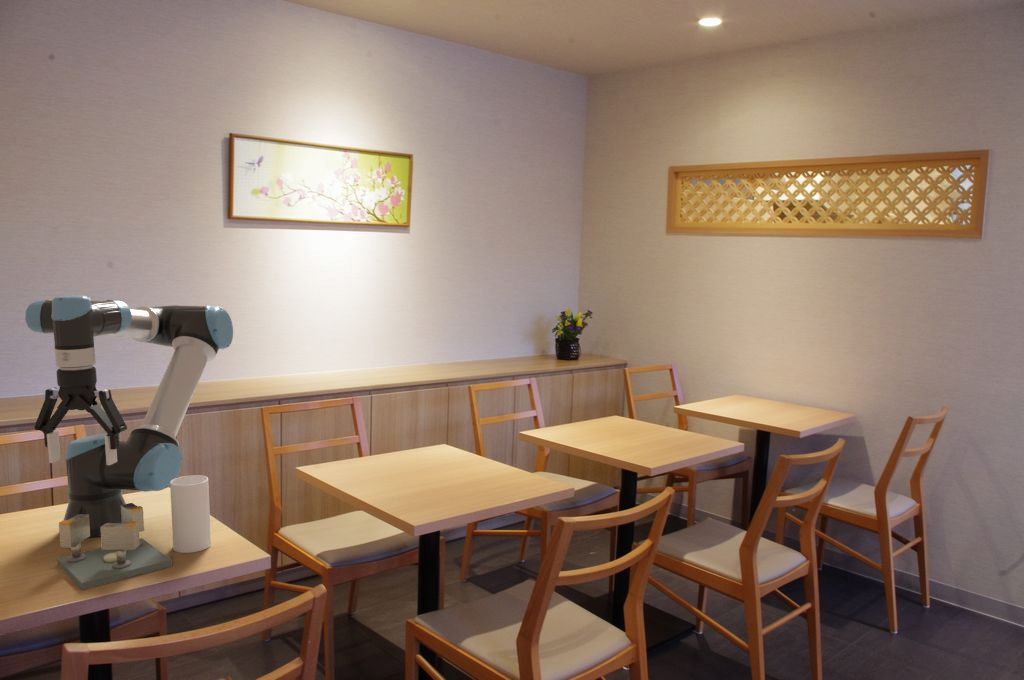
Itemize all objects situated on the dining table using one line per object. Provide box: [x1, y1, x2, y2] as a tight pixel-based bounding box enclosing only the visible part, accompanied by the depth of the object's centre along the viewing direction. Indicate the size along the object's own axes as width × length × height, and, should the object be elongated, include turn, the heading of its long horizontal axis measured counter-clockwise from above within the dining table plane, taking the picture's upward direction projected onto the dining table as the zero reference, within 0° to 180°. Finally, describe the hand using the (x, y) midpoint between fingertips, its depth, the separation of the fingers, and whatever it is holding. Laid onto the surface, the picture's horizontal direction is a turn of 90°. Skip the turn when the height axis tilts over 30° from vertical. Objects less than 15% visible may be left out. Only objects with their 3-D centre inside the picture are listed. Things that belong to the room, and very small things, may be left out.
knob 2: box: [121, 502, 145, 533], centre depth 182 cm, size 7×2×9 cm, turn 45°
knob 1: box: [100, 521, 140, 564], centre depth 171 cm, size 7×2×9 cm, turn 90°
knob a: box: [58, 514, 91, 557], centre depth 174 cm, size 7×2×9 cm, turn 177°
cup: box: [169, 474, 212, 554], centre depth 186 cm, size 8×8×16 cm
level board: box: [56, 537, 173, 591], centre depth 175 cm, size 18×18×2 cm
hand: (83, 462), depth 175 cm, fingers open, 13 cm apart
